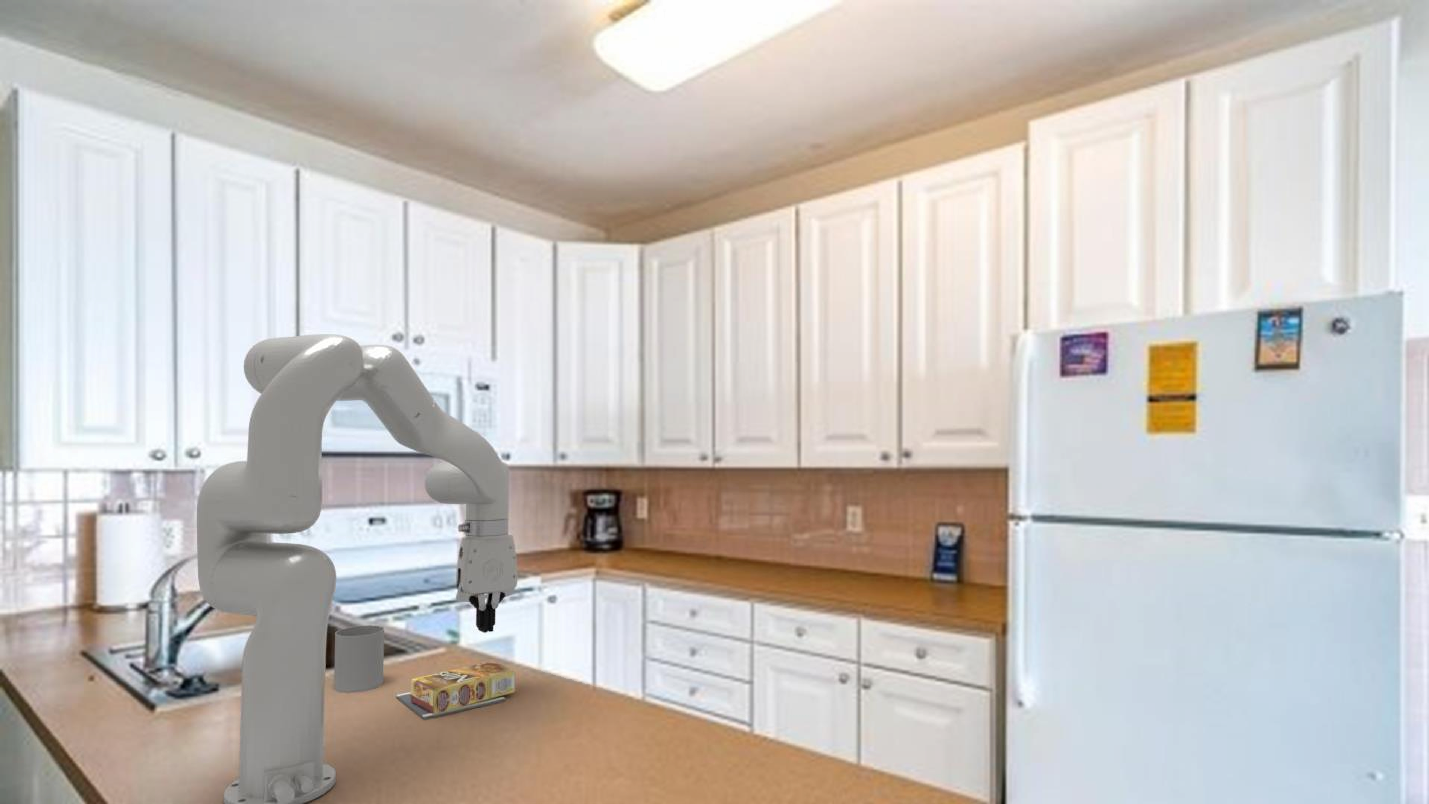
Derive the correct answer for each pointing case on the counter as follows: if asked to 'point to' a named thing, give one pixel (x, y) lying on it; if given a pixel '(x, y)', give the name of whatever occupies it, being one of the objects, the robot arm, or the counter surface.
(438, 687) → the candy box
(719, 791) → the counter surface
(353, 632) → the cup
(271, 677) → the robot arm
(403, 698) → the mat
